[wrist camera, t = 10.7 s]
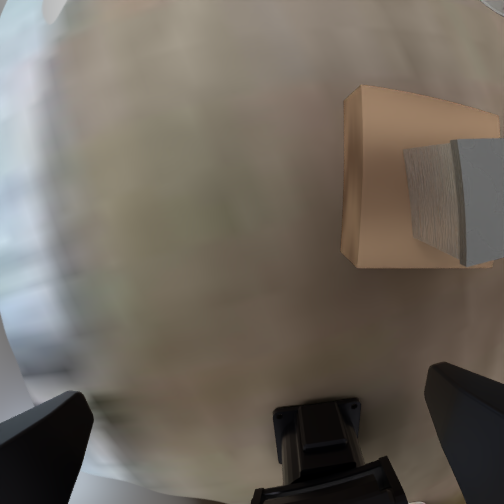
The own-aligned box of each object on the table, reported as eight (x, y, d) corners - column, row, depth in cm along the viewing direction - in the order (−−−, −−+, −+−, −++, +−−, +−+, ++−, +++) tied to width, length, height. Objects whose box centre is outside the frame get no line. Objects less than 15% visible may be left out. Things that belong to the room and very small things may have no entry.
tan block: (458, 252, 19) (491, 267, 15) (338, 250, 19) (357, 268, 15) (464, 123, 17) (498, 115, 13) (342, 102, 17) (361, 84, 13)
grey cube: (478, 226, 14) (539, 246, 9) (411, 239, 15) (466, 267, 10) (470, 143, 13) (533, 138, 8) (400, 147, 14) (457, 139, 9)
